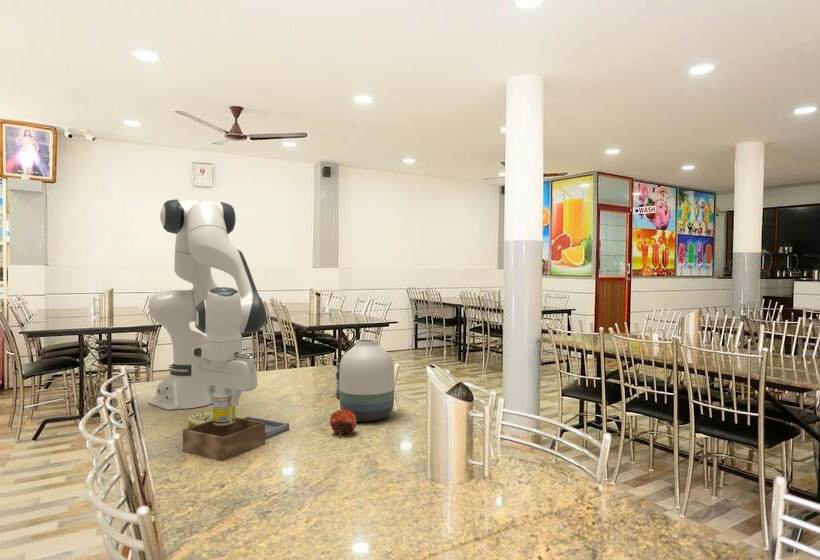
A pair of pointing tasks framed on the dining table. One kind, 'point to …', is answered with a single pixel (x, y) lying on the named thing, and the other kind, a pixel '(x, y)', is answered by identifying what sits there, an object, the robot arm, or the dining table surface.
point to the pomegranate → (343, 421)
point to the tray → (271, 426)
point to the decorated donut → (200, 418)
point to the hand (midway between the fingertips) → (224, 403)
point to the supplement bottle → (223, 407)
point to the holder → (223, 438)
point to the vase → (367, 381)
